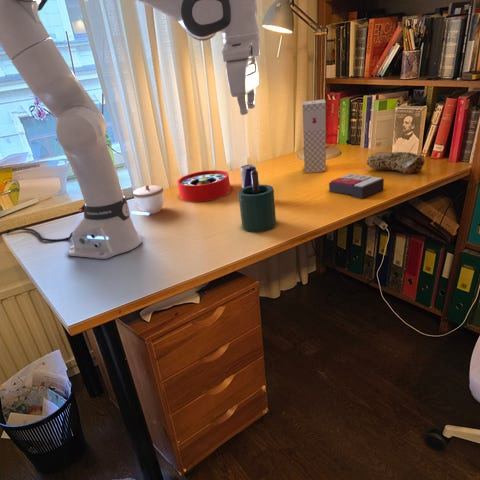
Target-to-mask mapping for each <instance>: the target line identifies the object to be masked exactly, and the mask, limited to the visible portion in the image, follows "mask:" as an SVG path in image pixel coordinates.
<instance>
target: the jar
mask: <svg viewBox="0 0 480 480" xmlns="http://www.w3.org/2000/svg"><path fill="white" fill-rule="evenodd" d="M259 190H260V194H254V195H253V188H252V186H247V187H244V188H242V187H241V188H240V189H239V190H238V191H237V194H238V202H239V203H238V204H239V211H240V219H241V226H242V229H243V231H245V232H249V233H263V232H266V231H269V230H272V229H274V228H275V227H276V225H277V216H276V202H275V201H276V200H275V190H274V187H273V186H272V185H269V184H259Z"/></svg>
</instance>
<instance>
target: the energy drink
mask: <svg viewBox="0 0 480 480" xmlns="http://www.w3.org/2000/svg"><path fill="white" fill-rule="evenodd" d="M253 170H257V168H256V165H255V164H244V165H242V166H240V178H241V189H242V188H244V187H247V186H252V178H251V172H252V171H253Z"/></svg>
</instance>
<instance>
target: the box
mask: <svg viewBox="0 0 480 480" xmlns="http://www.w3.org/2000/svg"><path fill="white" fill-rule="evenodd" d="M326 111H327V103H326V99H316V100H307V101H302V123H303V124H302V128H303V129H302V131H303V134H302V135H303V160H304V161H303V163H304V164H303V165H304V174H310V173H322V172H326V171H327V130H326V129H327V125H326V124H327V114H326V113H327V112H326Z"/></svg>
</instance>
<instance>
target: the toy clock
mask: <svg viewBox="0 0 480 480" xmlns="http://www.w3.org/2000/svg"><path fill="white" fill-rule="evenodd" d="M176 183H177V188H178V192H179V198H180V199H181V200H182V201H185V202H193V203H194V202H206V201H211V200H217V199H220V198H222V197H225V196H227V195H228V194H229V193H230V192H231V183H230V176H229V173H228V172H227V171H224V170H215V169H213V170H202V171H196V172H191V173H189V174H186V175H184V176H183V175H182V176H181V177H180V178H179V179H177V181H176Z"/></svg>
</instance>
